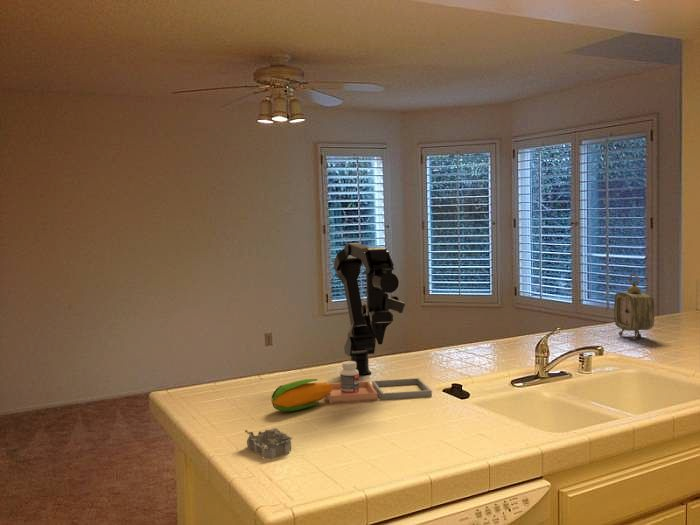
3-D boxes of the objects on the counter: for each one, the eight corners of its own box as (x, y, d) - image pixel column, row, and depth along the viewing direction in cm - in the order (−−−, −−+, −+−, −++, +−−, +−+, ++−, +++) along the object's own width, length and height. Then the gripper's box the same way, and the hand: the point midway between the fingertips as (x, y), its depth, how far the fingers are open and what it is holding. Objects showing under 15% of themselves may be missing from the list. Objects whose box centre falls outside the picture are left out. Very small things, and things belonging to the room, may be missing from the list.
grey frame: (372, 386, 194) (372, 380, 194) (418, 383, 196) (418, 377, 196) (381, 399, 180) (381, 393, 180) (431, 396, 182) (431, 390, 182)
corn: (264, 383, 170) (323, 369, 183) (264, 411, 171) (322, 395, 184) (281, 390, 164) (340, 375, 178) (280, 419, 165) (340, 402, 179)
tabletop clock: (613, 334, 262) (614, 273, 261) (635, 334, 263) (635, 272, 262) (633, 341, 248) (634, 276, 246) (655, 340, 249) (656, 275, 247)
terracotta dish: (324, 390, 190) (324, 383, 190) (368, 387, 192) (368, 381, 192) (329, 403, 177) (329, 396, 177) (377, 400, 179) (377, 393, 179)
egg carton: (243, 447, 146) (242, 429, 146) (273, 440, 150) (272, 422, 150) (264, 461, 137) (263, 442, 137) (296, 453, 141) (295, 435, 141)
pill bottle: (357, 396, 182) (356, 365, 181) (339, 395, 183) (338, 364, 182) (360, 391, 187) (360, 360, 186) (343, 390, 188) (342, 360, 187)
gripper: (410, 291, 186) (411, 346, 187) (395, 285, 204) (396, 334, 205) (371, 293, 184) (372, 348, 185) (360, 286, 202) (361, 336, 204)
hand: (377, 341), depth 195 cm, fingers open, 9 cm apart
